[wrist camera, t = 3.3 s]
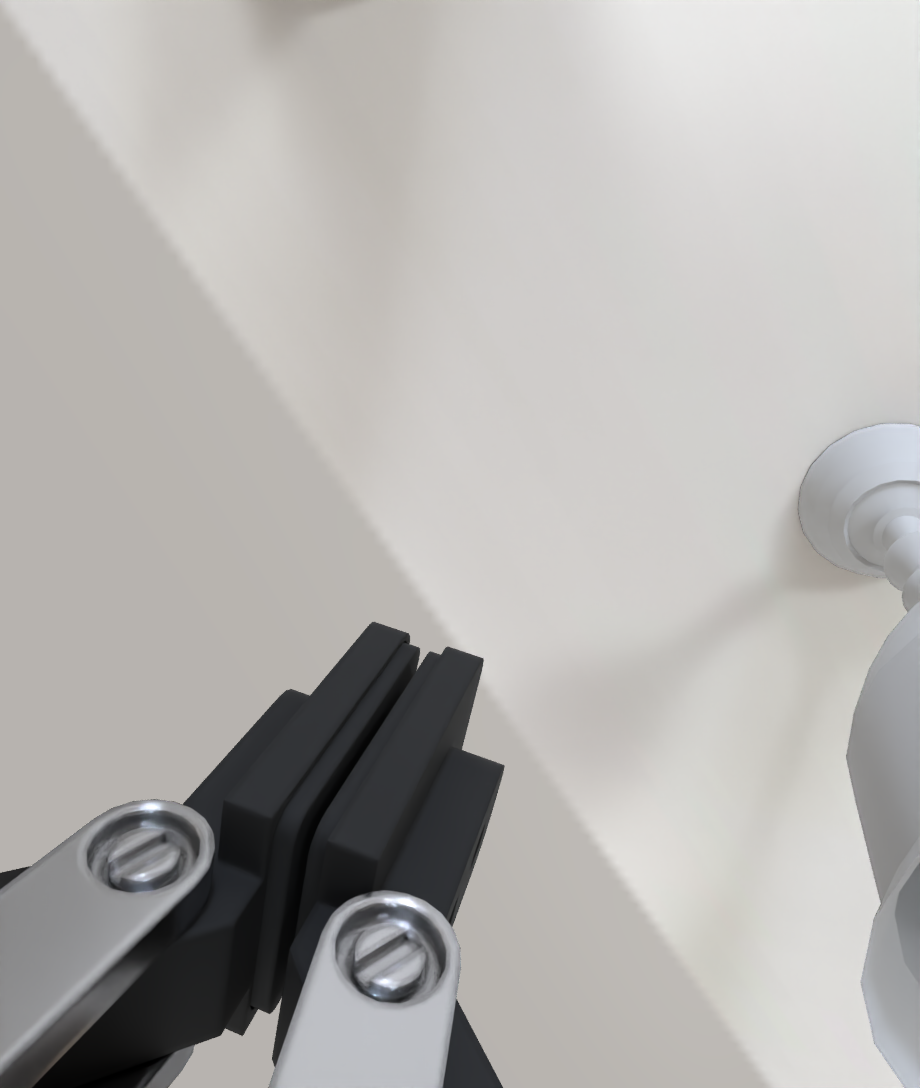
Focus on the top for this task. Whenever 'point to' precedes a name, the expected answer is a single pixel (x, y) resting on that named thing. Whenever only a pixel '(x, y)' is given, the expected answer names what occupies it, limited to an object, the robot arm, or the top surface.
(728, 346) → the top surface
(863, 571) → the chalice
